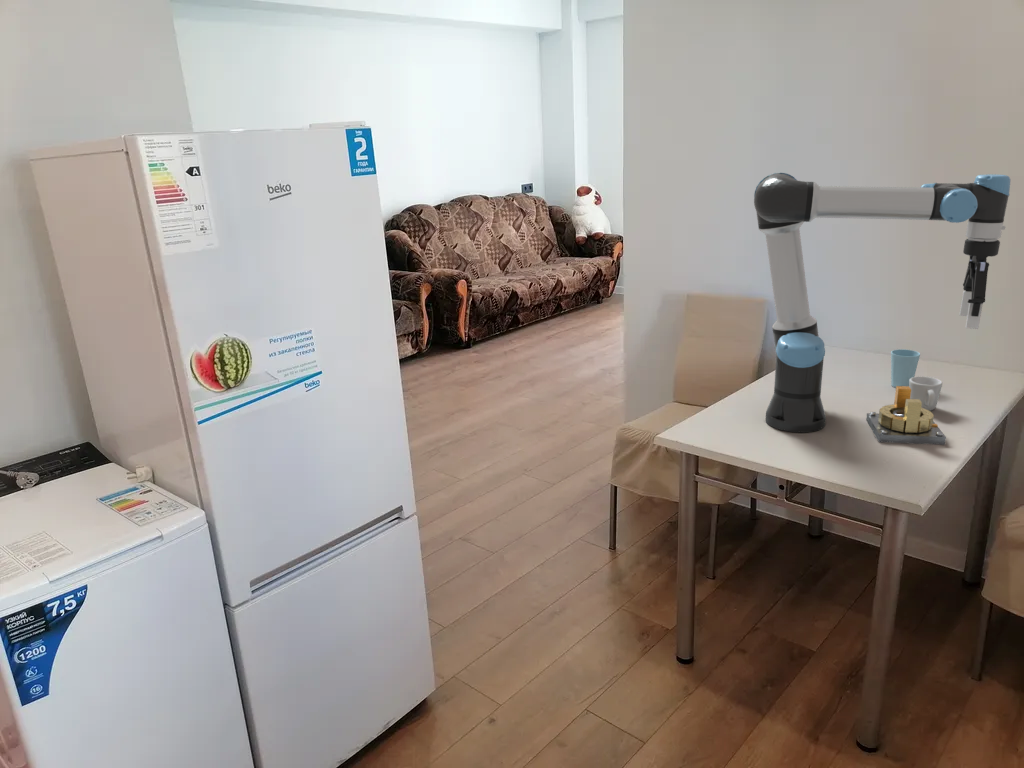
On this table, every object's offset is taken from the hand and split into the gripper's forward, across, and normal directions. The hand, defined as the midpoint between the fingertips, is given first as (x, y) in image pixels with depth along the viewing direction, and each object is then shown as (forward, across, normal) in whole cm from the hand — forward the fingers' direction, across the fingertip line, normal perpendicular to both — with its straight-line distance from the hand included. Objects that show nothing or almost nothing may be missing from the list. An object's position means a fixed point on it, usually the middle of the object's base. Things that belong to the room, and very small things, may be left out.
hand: (968, 322), depth 196 cm
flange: (+26, -16, +12) cm, 33 cm away
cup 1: (+26, +21, +11) cm, 36 cm away
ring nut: (+24, -16, +12) cm, 31 cm away
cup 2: (+26, +2, +7) cm, 27 cm away
